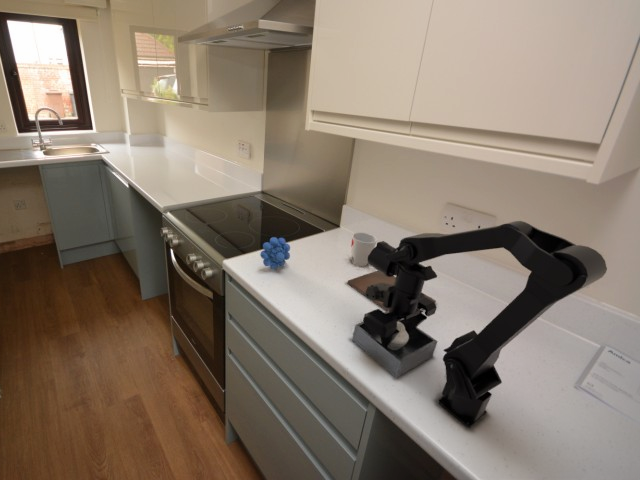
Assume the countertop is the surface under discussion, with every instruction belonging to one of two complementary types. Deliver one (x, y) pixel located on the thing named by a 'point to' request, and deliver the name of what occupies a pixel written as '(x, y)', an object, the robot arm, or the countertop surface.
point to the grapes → (275, 252)
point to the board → (372, 279)
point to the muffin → (399, 338)
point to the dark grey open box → (395, 360)
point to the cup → (362, 248)
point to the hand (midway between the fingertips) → (393, 341)
